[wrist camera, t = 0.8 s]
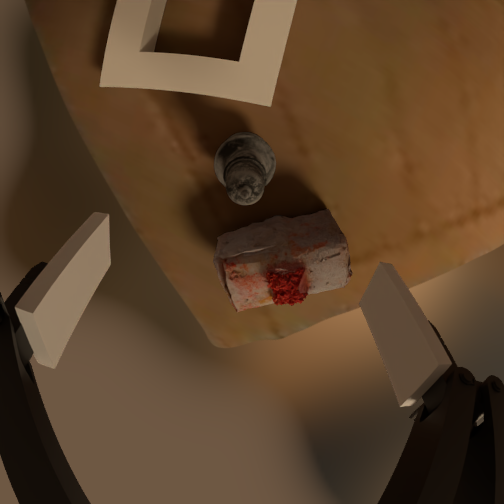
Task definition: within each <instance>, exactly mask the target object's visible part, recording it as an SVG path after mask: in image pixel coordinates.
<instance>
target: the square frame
mask: <svg viewBox="0 0 504 504" xmlns="http://www.w3.org/2000/svg"><path fill="white" fill-rule="evenodd" d="M166 1H167V0H117V3H116V7H115V10H114V14H113V18H112V22H111V27H110V31H109V36H108V40H107V45H106V50H105V56H104V61H103V67H102V73H101V80H100V87H127V88H144V89H158V90H169V91H178V92H187V93H195V94H202V95H209V96H216V97H222V98H228V99H234V100H239V101H244V102H250V103H255V104H259V105H264V106H269V107H271V102H272V98H273V94H274V90H275V86H276V82H277V78H278V74H279V70H280V66H281V62H282V58H283V54H284V50H285V46H286V42H287V38H288V34H289V30H290V26H291V22H292V18H293V14H294V10H295V6H296V2H297V0H255V1H254V5H253V8H252V12H251V16H250V20H249V24H248V27H247V31H246V35H245V39H244V43H243V48H242V52H241V56H240V60H239V62H237V61H231V60H225V59H218V58H211V57H203V56H194V55H185V54H173V53H158V52H154V50H155V46H156V41H157V37H158V32H159V28H160V24H161V20H162V16H163V12H164V8H165V5H166Z"/></svg>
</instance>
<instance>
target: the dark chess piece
mask: <svg viewBox="0 0 504 504" xmlns="http://www.w3.org/2000/svg"><path fill="white" fill-rule="evenodd" d="M275 168H276V160H275V155H274V153H273V151H272V149H271V147H270V146H269V145H268V144H267V143H266V142H265V141H264V140H263V139H262V138H261V137H259V136H258V135H256V134H253V133H250V132H241V133H236V134H234V135H232V136H230V137H229V138H228V139H227V140H226V141H225V142H224V143H223V144H222V145H221V146H220V147H219V149H218V150H217V152H216V155H215V158H214V169H215V174H216V176H217V178H218V179H219V181H220V182H221V183H222V184H223V185H224V186H225V187H226V191H227V194H228V196H229V198H230V199H231V200H232V201H233V202H235V203H237V204H240V205H251V204H254V203H256V202H257V201H258V200H259V199H260V198H261V197H262V195H263V192H264V186H266V185H267V184H268V183H269V182H270V180H271V179H272V177H273V175H274V172H275Z"/></svg>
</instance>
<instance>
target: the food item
mask: <svg viewBox="0 0 504 504" xmlns="http://www.w3.org/2000/svg"><path fill="white" fill-rule="evenodd" d="M217 239H218V242H217V246H216V250H215V255H214V260H213V262H214V265H215V268H216V270H217V273H218V277H219V280H220V283H221V285H222V287H223V289H224V290H225V291H226V293H227V294H228V298H229V300H230V302H231V304H232V306H233V307H234V308H235V310H236V311H237V312H239V311H242V310H245V309H247V308H257V307H260V306H264V305H268V304H272V303H275V304H276V305H278V304H280V305H282V304H286V303H288V304H290V305H291V306H292V305H294V303H297V302H299V303H302V301H304V300H303V298H306V296H307V295H308V294H311V293H319V292H322V291H328V290H333V289H335V288H340V287H343V288H344V287H345V285H346V284H347V283H348V282H349V281H350V278H351V275H352V271H351V268H350V255H349V250H348V244H347V240H346V237H345V236H344V234H343V233H342V231H341V230H340V228H339V226H338V225H337V223H336V221H335V219H334V218H333V217H332V215H331V212H330V211H329V209H325V210H322V211H318V212H316V213H313V214H310V215H302V216H297V217H294V218H288V217H285V216H282V215H280V216H279V215H276V216H273V217H272V218H269V219H266V220H265V221H264V222H260V223H252V224H250V225H249V226H247V227H243V228H240V229H238V230H236V231H233V232H227V233H223V234H222V235H221V236H218V237H217Z"/></svg>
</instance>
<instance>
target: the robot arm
mask: <svg viewBox="0 0 504 504" xmlns="http://www.w3.org/2000/svg"><path fill="white" fill-rule="evenodd" d="M109 240H110V239H109V214H104V213H98V212H94V213H93V214H92V215H91V216H90V217H89V218H88V219H87V220H86V221H85V223H84V224H83V225H82V226H81V227H80V228H79V229H78V230H77V231H76V232H75V233H74V234H73V236H72V237H71V238H70V239H69V240H68V241H67V242H66V243H65V244H64V246H63V247H62V248H61V249H60V250H59V251H58V252H57V254H56V255H55V256H54V257H53V258H52V260H51V261H50V262H49V263H45V262H41V263H39V264H37V265H36V266H34V267H33V268H31V270H30V271H29V272H28V273H27V274H26V276H25V278H23V279H22V281H21V282H20V284H19V285H18V286H17V287H16V288H15V289H14V291H13V292H12V293H11V295H10V296H9V297H8V298H7V300H6V301H5V302H4V301H3V298H2V295H1V293H0V455H1V458H2V461H3V464H4V467H5V470H6V472H7V475H8V478H9V480H10V482H11V485H12V488H13V490H14V492H15V495H16V497H17V499H18V502H19V504H91V503H90V502H89V500H88V499H87V497H86V495H85V494H84V492H83V490H82V489H81V486H80V485H79V483H78V481H77V479H76V477H75V475H74V474H73V471H72V470H71V468H70V466H69V464H68V462H67V460H66V457H65V455H64V453H63V451H62V449H61V447H60V445H59V442H58V440H57V437H56V435H55V433H54V431H53V428H52V426H51V423H50V420H49V418H48V415H47V412H46V410H45V407H44V404H43V401H42V398H41V395H40V392H39V389H38V386H37V383H36V380H35V376H34V372H33V369H32V366H31V363H30V362H29V360H30V358H31V357H32V354H33V353H34V356H35V358H36V360H37V362H38V363H39V364H42V365H45V366H47V367H50V368H53V369H55V368H56V365H57V363H58V361H59V359H60V357H61V355H62V353H63V351H64V349H65V346H66V344H67V342H68V340H69V338H70V336H71V334H72V332H73V330H74V328H75V326H76V325H77V323H78V320H79V319H80V317H81V315H82V313H83V312H84V310H85V308H86V306H87V304H88V302H89V301H90V299H91V297H92V295H93V293H94V292H95V290H96V288H97V287H98V285H99V283H100V281H101V280H102V278H103V276H104V274H105V273H106V271H107V270H108V268H109V266H110V265H111V261H110V241H109ZM359 305H360V307H361V309H362V311H363V314H364V316H365V318H366V320H367V323H368V325H369V328H370V330H371V333H372V335H373V337H374V340H375V342H376V345H377V347H378V350H379V352H380V355H381V357H382V360H383V362H384V365H385V368H386V370H387V373H388V375H389V378H390V380H391V383H392V386H393V389H394V392H395V394H396V397H397V400H398V403H399V406H400V407H402V406H410V405H414V404H415V403H416V402H417V401H418V400H419V399H420V398H421V397H422V398H423V400H424V403H423V404H422V405H421V406H420V407H419V408H418V409H417V410H415V411H414V413H413V414H411V416H410V417H409V418H412V417H413V416H414V415H416V414H417V416H416V418H415V419H414V421H415V422H414V424H413V427H412V430H411V432H410V435H409V438H408V440H407V443H406V445H405V448H404V450H403V452H402V455H401V457H400V459H399V462H398V464H397V466H396V468H395V470H394V473H393V475H392V477H391V479H390V481H389V483H388V485H387V487H386V489H385V491H384V493H383V495H382V496H381V498H380V500H379V502H378V504H504V385H503V383H502V381H501V380H500V379H499V378H498V377H496V376H493V375H491V376H489V377H488V378H487V379H486V380H485V381H484V382H479V381H476V380H475V377H474V376H473V374H472V373H471V372H470V371H469V370H468V369H466V368H463V367H457V365H456V363H455V361H454V359H453V357H452V355H451V354H450V352H449V350H448V348H447V346H446V345H444V341H443V340H442V338H440V337H441V336H440V334H439V332H438V331H437V329H436V328H435V327H434V326H433V325H432V323H430V321H429V320H427V318H426V316H425V315H424V313H423V312H422V310H421V308H420V307H419V305H418V303H417V302H416V300H415V299H414V297H413V296H412V294H411V293H410V291H409V289H408V288H407V286H406V285H405V283H404V282H403V280H402V278H401V277H400V275H399V274H398V272H397V271H396V269H395V268H394V267H393V265H392V264H389V263H383V262H380V263H379V265H378V267H377V269H376V271H375V273H374V275H373V277H372V279H371V281H370V283H369V285H368V287H367V289H366V291H365V293H364V295H363V297H362V299H361V301H360V303H359ZM482 416H484V422H482V423H481V424H480V425H479V426H477V423H476V422H477V421H478V420H479V419H480V418H481V417H482Z"/></svg>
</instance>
